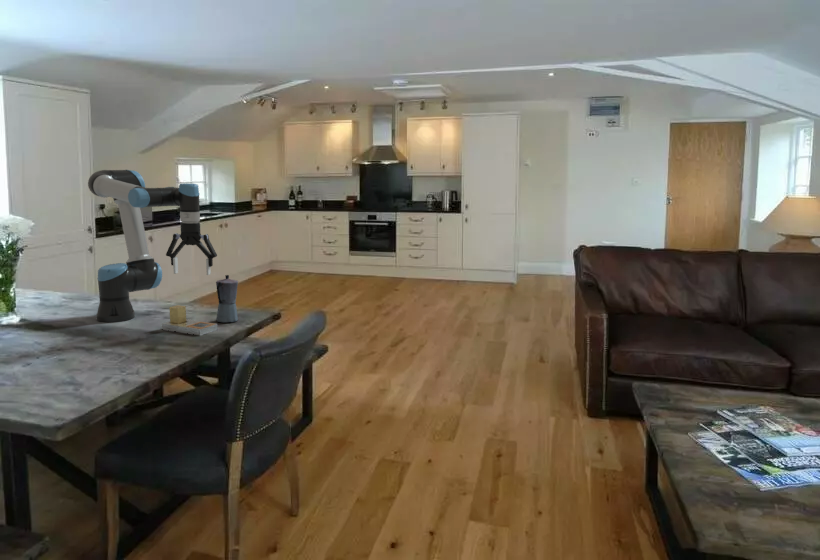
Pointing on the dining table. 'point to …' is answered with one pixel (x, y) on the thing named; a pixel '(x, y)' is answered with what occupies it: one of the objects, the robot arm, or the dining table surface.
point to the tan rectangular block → (177, 314)
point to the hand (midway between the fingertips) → (192, 273)
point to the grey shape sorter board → (191, 327)
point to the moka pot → (227, 300)
